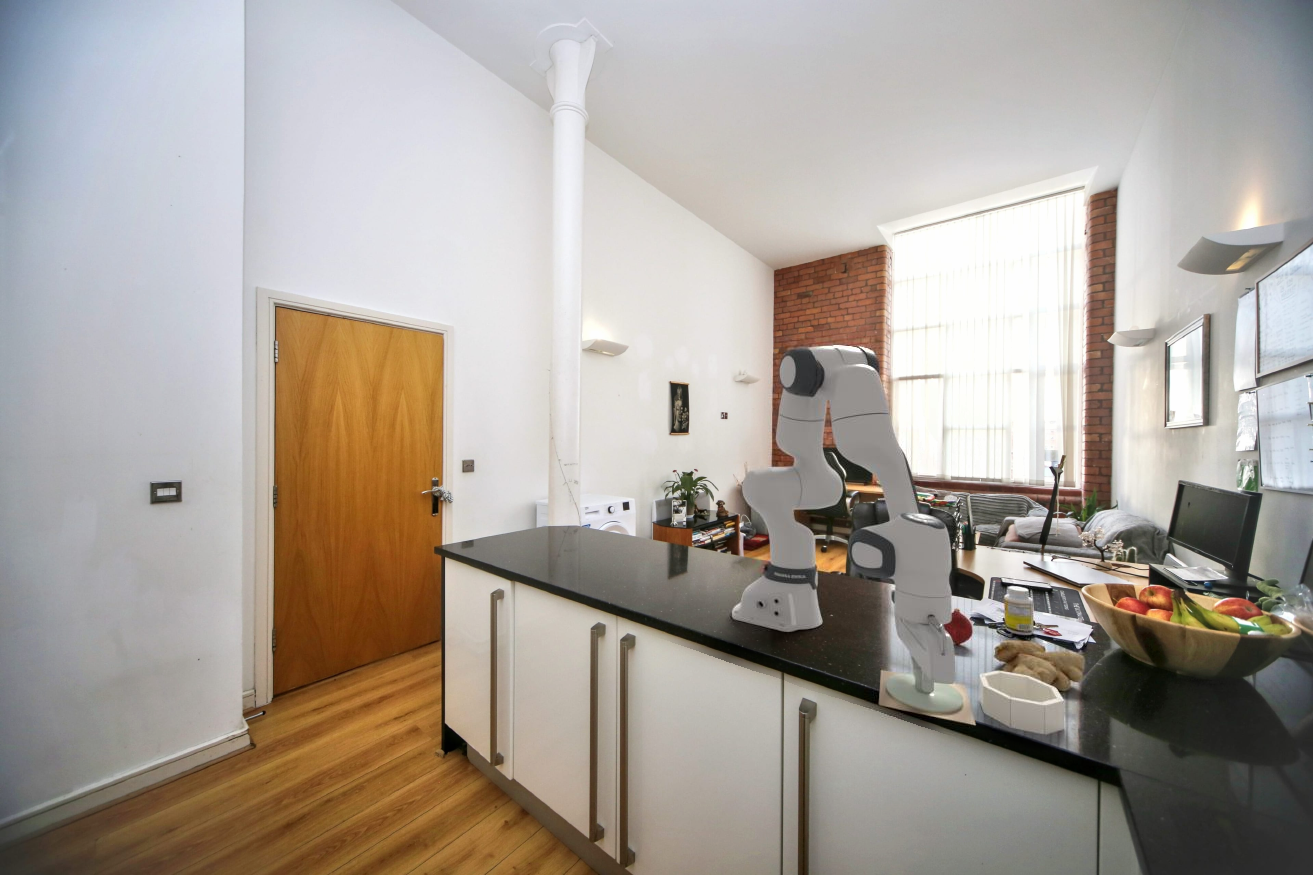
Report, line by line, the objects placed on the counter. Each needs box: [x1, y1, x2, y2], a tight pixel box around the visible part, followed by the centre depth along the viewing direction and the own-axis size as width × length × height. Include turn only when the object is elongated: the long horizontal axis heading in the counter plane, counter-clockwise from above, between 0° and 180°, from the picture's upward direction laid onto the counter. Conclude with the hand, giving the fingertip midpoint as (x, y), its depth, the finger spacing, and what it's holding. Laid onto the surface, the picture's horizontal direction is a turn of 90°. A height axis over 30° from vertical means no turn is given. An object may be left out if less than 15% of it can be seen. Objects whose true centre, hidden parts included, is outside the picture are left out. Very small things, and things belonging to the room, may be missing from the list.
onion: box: [943, 607, 973, 646], centre depth 110 cm, size 6×6×8 cm
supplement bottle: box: [1003, 585, 1034, 636], centre depth 117 cm, size 6×6×10 cm
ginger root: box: [993, 639, 1086, 692], centre depth 94 cm, size 16×16×8 cm
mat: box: [878, 669, 977, 726], centre depth 87 cm, size 14×14×1 cm
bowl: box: [979, 670, 1065, 735], centre depth 81 cm, size 11×11×5 cm
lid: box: [886, 667, 963, 713], centre depth 87 cm, size 12×12×4 cm
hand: (923, 684), depth 87 cm, fingers closed on lid, 3 cm apart
